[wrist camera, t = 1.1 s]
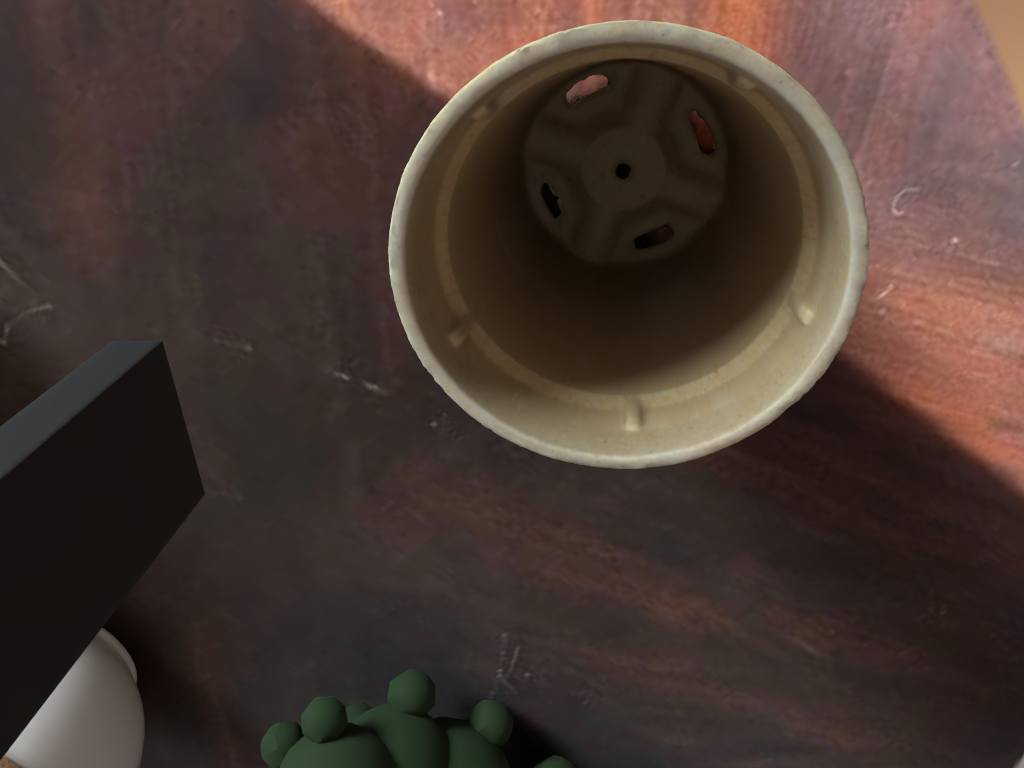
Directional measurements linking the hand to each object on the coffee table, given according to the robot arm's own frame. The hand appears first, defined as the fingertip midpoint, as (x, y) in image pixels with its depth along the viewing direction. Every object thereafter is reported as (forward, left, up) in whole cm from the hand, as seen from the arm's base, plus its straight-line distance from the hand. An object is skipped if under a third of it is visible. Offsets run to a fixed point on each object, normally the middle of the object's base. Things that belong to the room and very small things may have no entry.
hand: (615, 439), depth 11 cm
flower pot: (0, 0, -14) cm, 14 cm away
